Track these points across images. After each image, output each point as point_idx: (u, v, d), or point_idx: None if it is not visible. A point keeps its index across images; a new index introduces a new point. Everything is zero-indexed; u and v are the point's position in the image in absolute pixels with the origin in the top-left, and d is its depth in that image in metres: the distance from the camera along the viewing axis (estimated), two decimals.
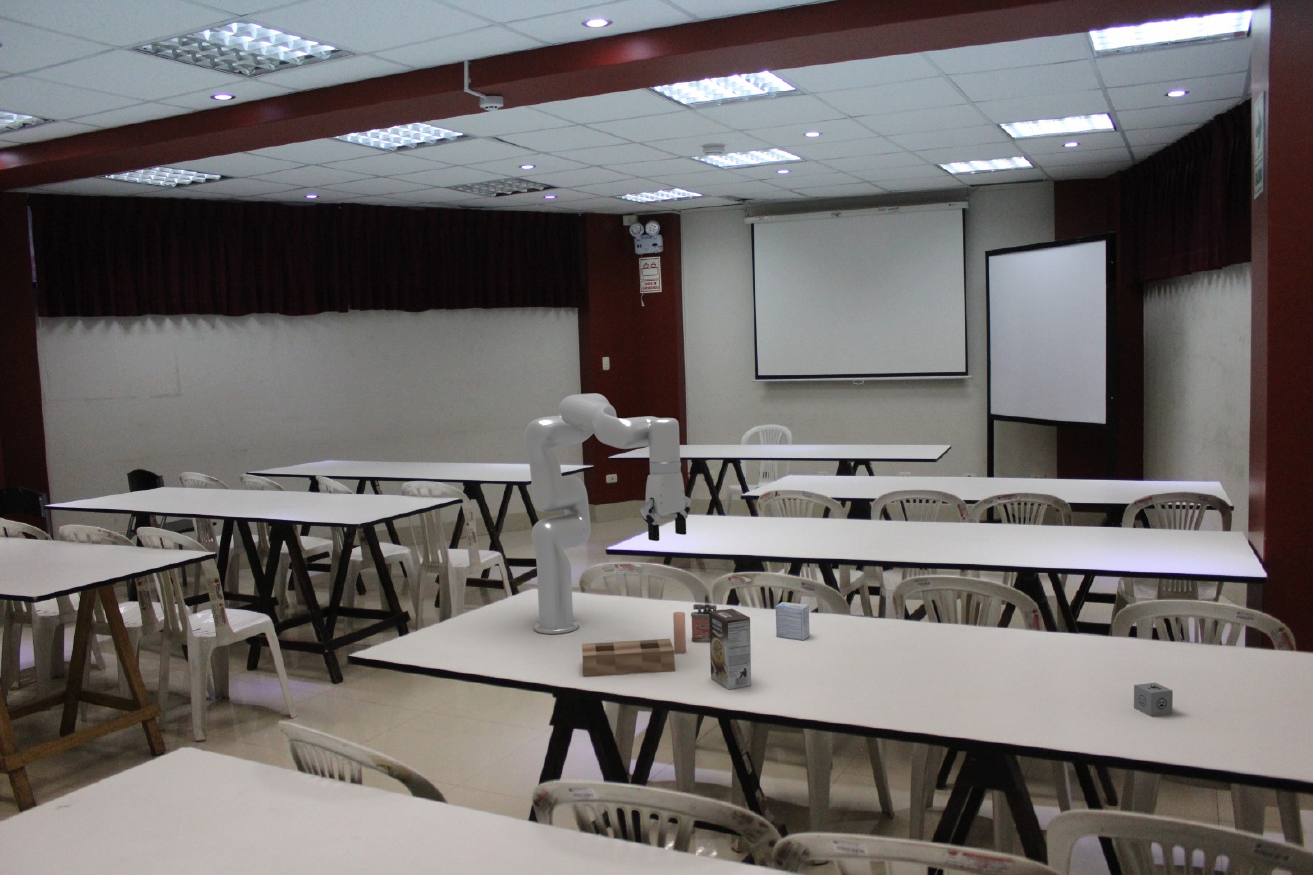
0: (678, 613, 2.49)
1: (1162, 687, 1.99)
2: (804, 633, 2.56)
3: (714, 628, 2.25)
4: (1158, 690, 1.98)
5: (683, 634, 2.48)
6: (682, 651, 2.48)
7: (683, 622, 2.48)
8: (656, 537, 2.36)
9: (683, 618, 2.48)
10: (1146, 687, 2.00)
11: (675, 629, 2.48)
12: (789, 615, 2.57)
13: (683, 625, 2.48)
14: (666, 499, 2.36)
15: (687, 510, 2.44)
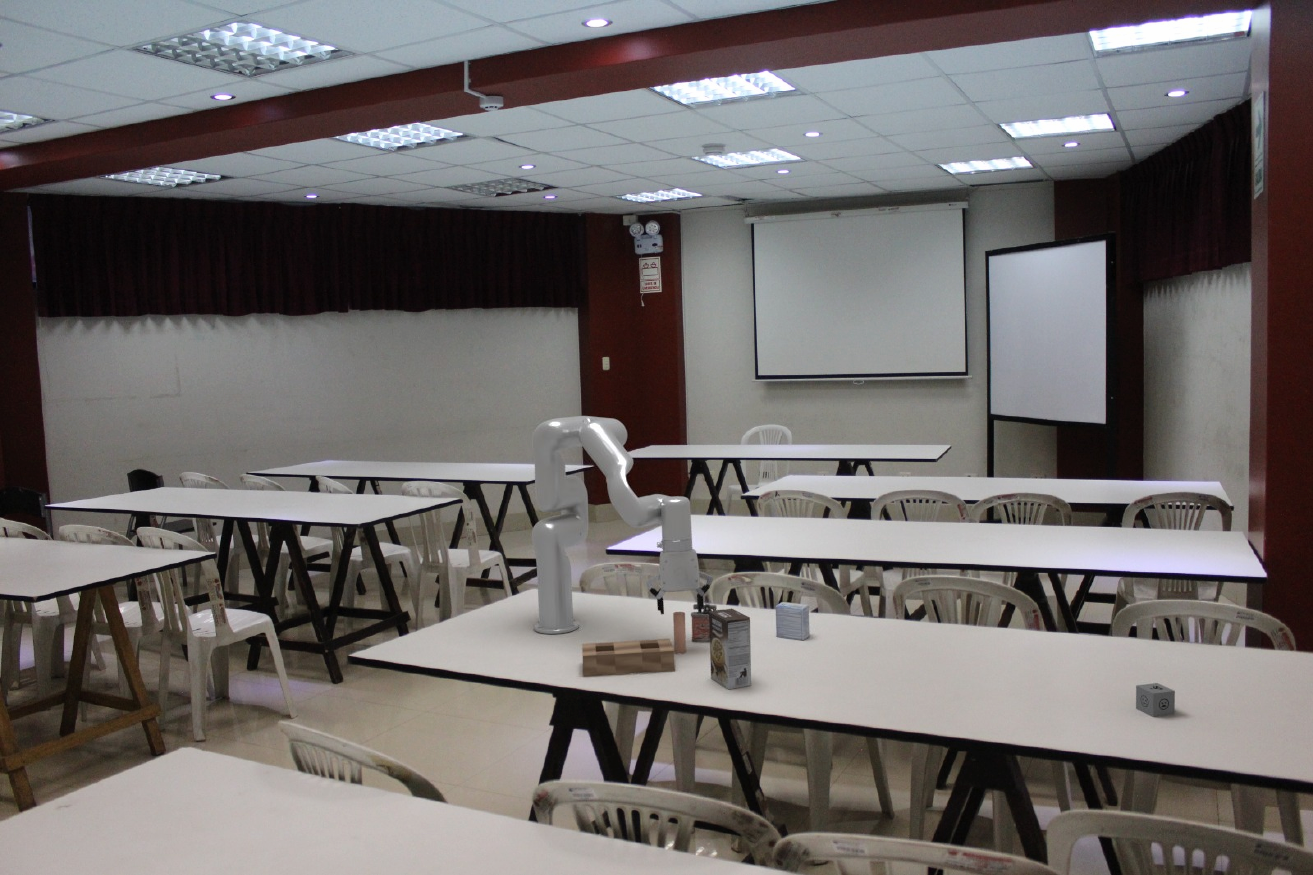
0: (678, 613, 2.49)
1: (1164, 687, 1.99)
2: (804, 633, 2.56)
3: (714, 628, 2.25)
4: (1160, 691, 1.97)
5: (683, 634, 2.48)
6: (682, 651, 2.48)
7: (683, 622, 2.48)
8: None
9: (683, 618, 2.48)
10: (1148, 687, 1.99)
11: (675, 629, 2.48)
12: (789, 615, 2.57)
13: (683, 625, 2.48)
14: None
15: None
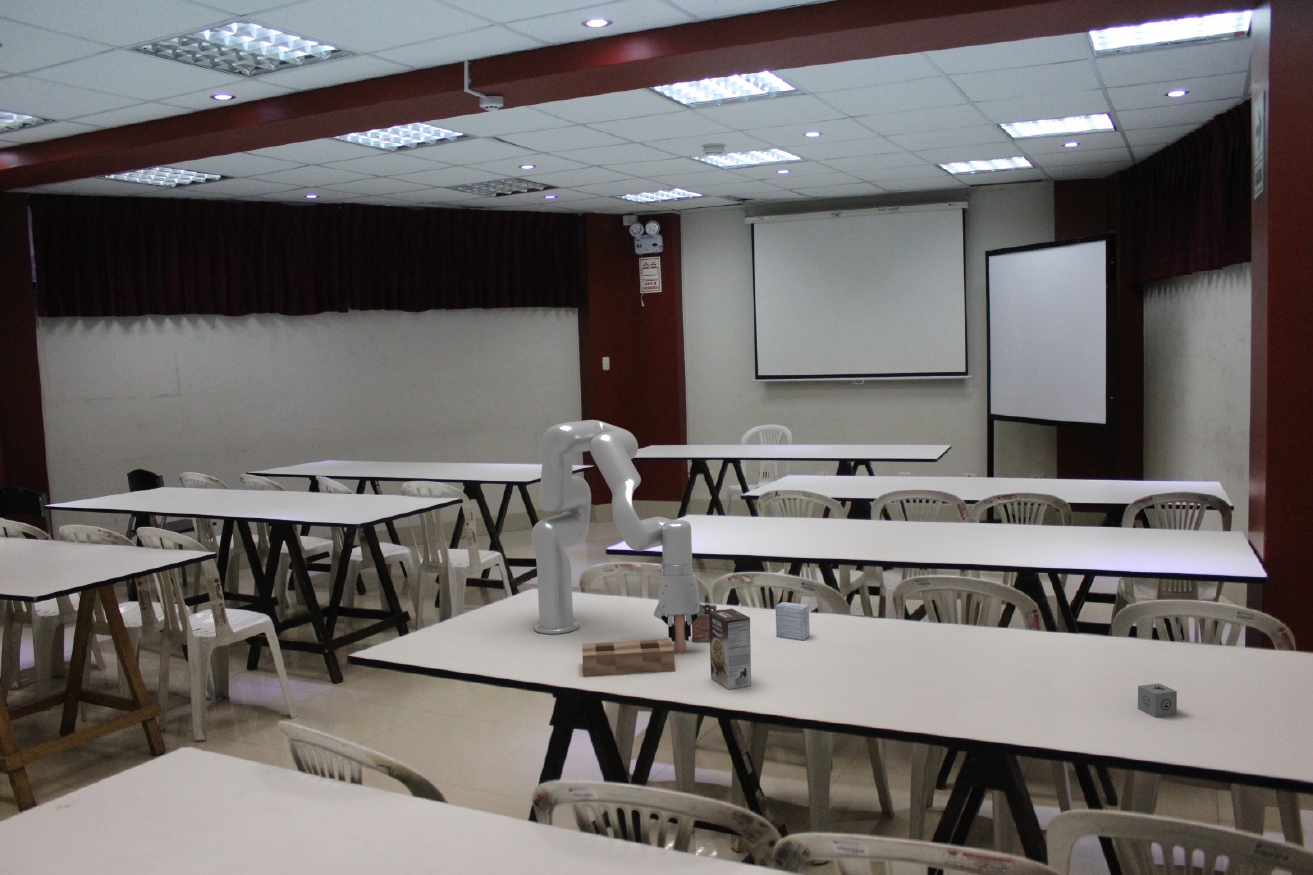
0: None
1: (1166, 688, 1.99)
2: (804, 633, 2.56)
3: (714, 628, 2.25)
4: (1162, 691, 1.97)
5: (683, 634, 2.48)
6: (682, 651, 2.48)
7: (683, 622, 2.48)
8: None
9: (683, 618, 2.48)
10: (1150, 688, 1.99)
11: (675, 629, 2.48)
12: (789, 615, 2.57)
13: (683, 625, 2.48)
14: None
15: None
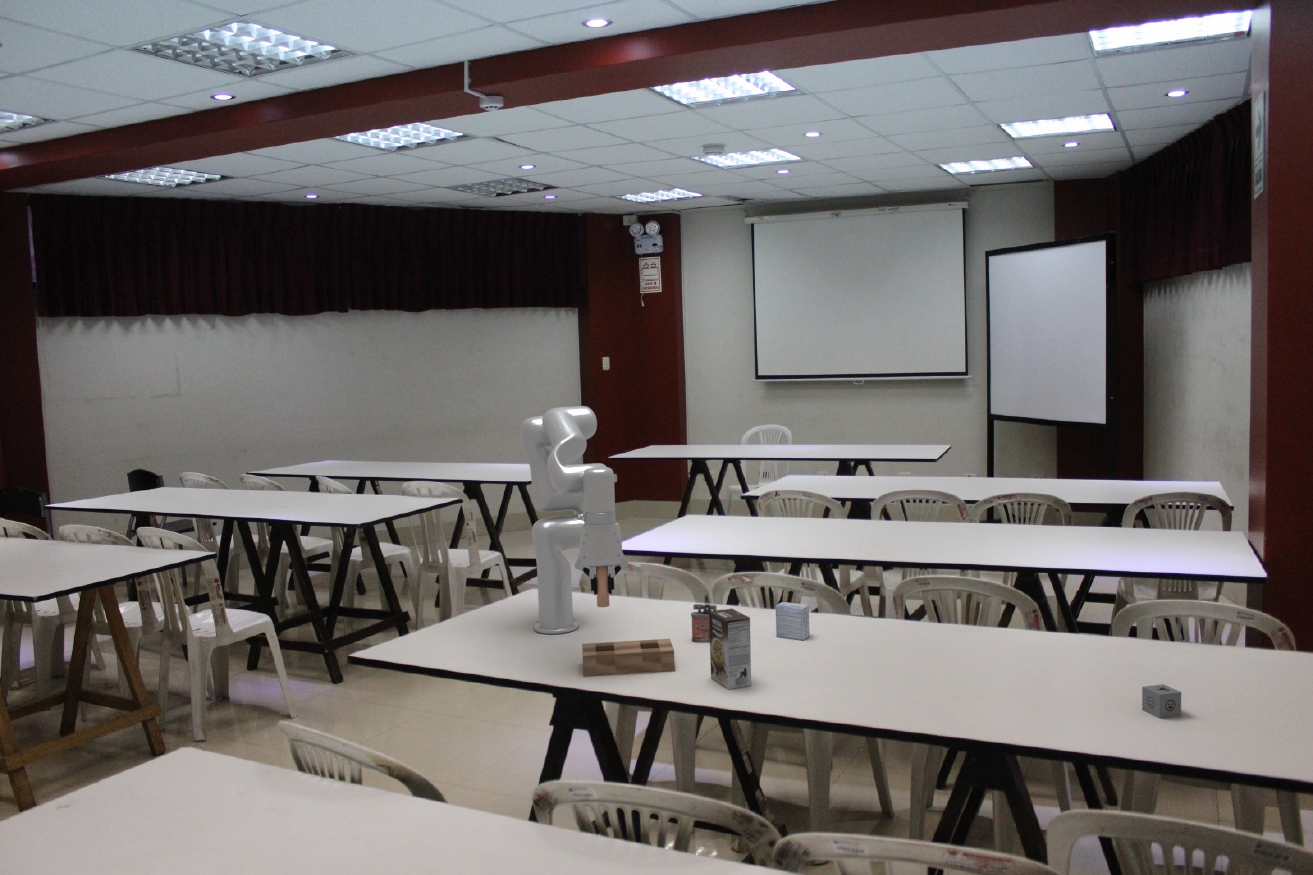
0: None
1: (1170, 689, 1.98)
2: (804, 633, 2.56)
3: (714, 628, 2.25)
4: (1167, 692, 1.97)
5: (606, 587, 2.35)
6: (605, 605, 2.35)
7: (606, 574, 2.35)
8: None
9: (606, 570, 2.35)
10: (1155, 689, 1.99)
11: (597, 582, 2.35)
12: (789, 615, 2.57)
13: (606, 577, 2.35)
14: None
15: None
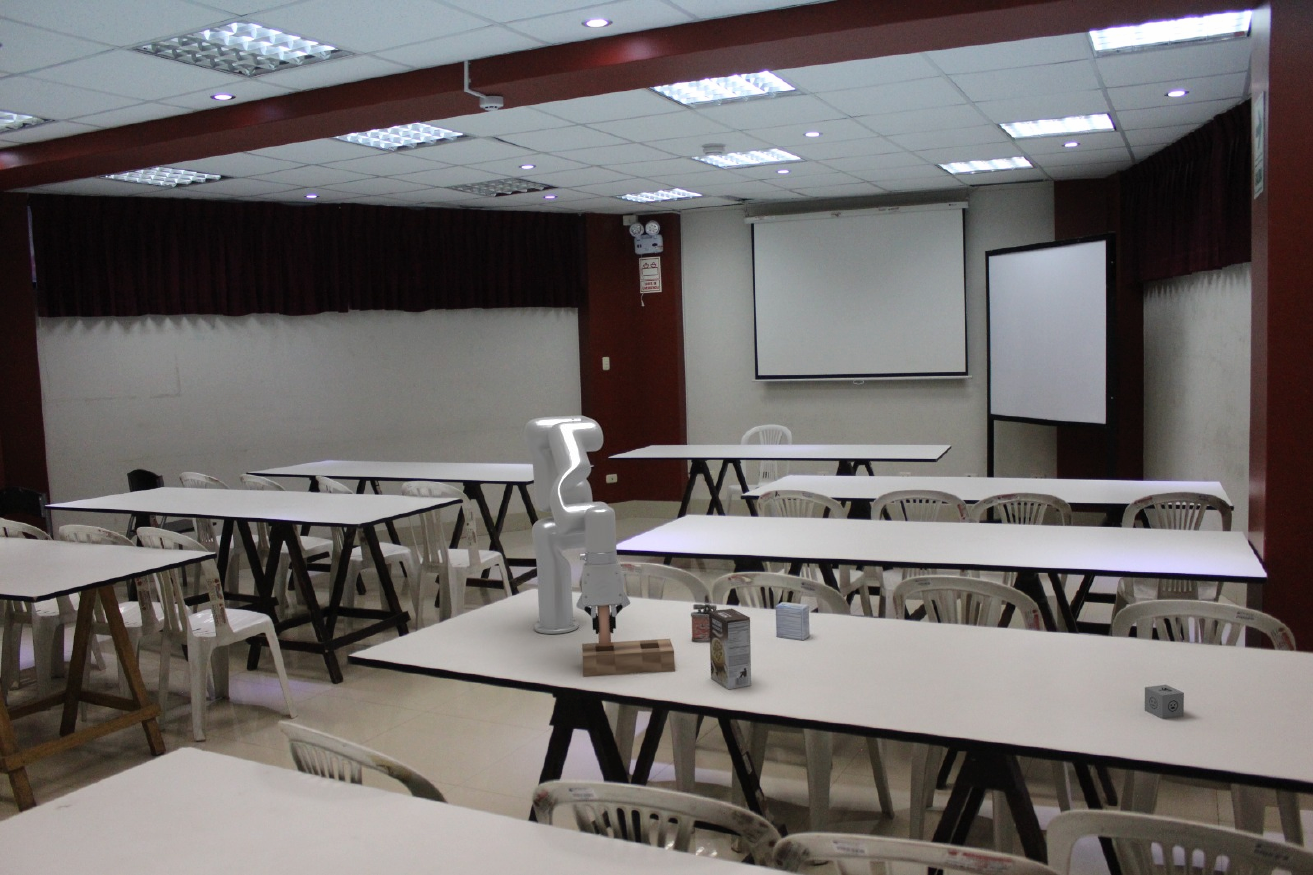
0: None
1: (1173, 689, 1.98)
2: (804, 633, 2.56)
3: (714, 628, 2.25)
4: (1169, 692, 1.96)
5: (607, 626, 2.36)
6: (606, 644, 2.36)
7: (607, 613, 2.36)
8: None
9: (607, 609, 2.36)
10: (1157, 689, 1.98)
11: (599, 621, 2.36)
12: (789, 615, 2.57)
13: (607, 616, 2.36)
14: None
15: None
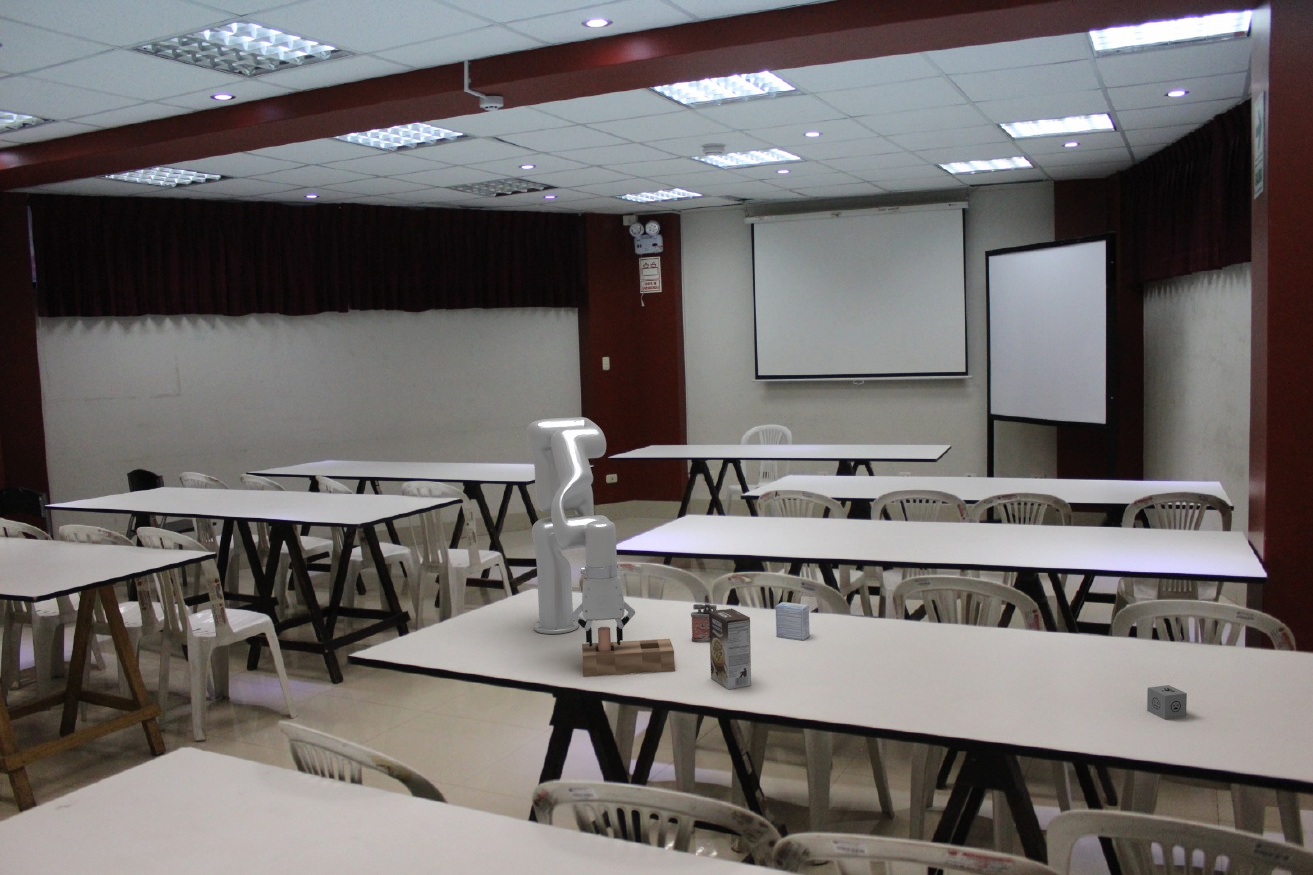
0: (603, 629, 2.37)
1: (1176, 690, 1.98)
2: (804, 633, 2.56)
3: (714, 628, 2.25)
4: (1172, 693, 1.96)
5: (608, 650, 2.37)
6: None
7: (608, 638, 2.37)
8: None
9: (608, 633, 2.37)
10: (1160, 690, 1.98)
11: (600, 645, 2.37)
12: (789, 615, 2.57)
13: (608, 641, 2.37)
14: None
15: None
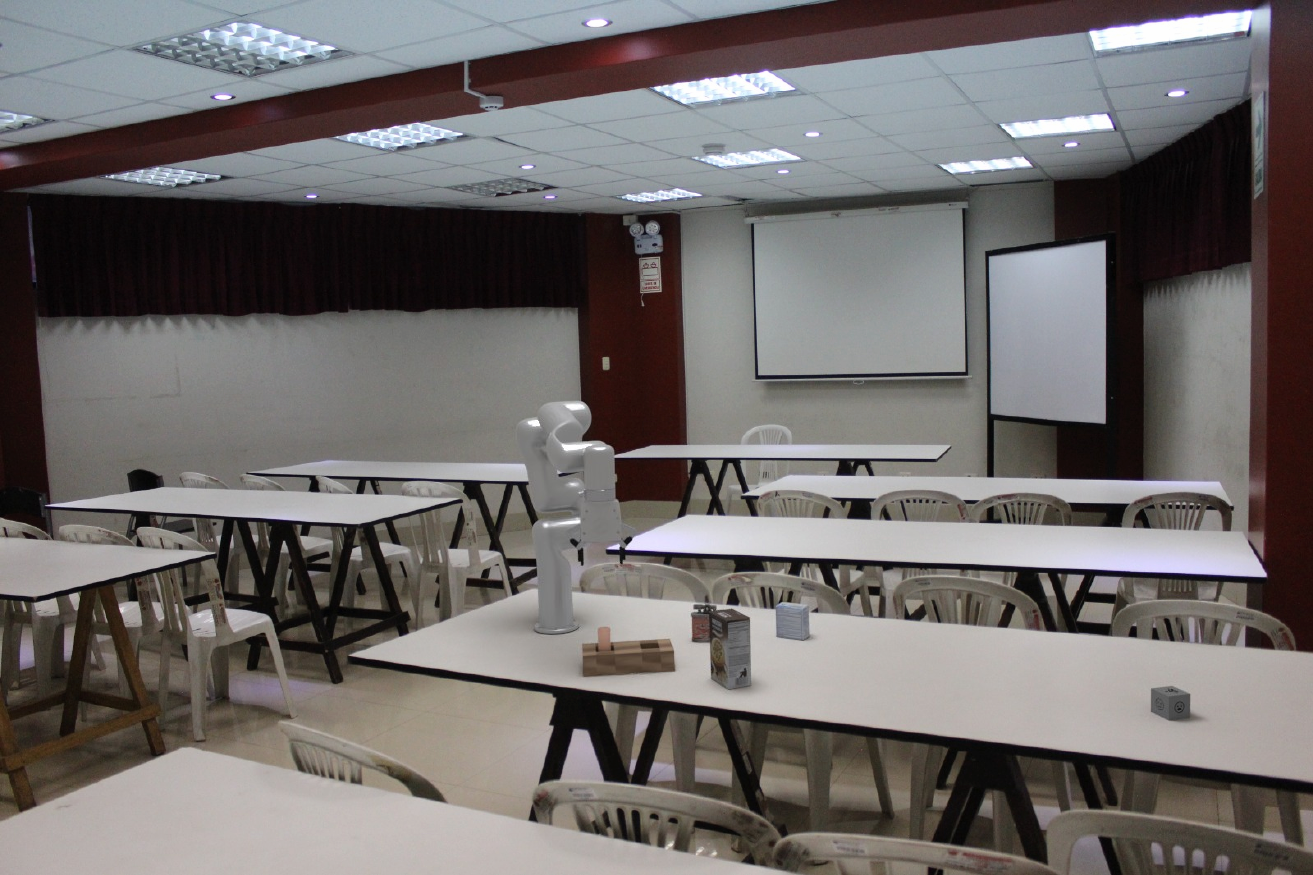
0: (603, 629, 2.37)
1: (1179, 690, 1.97)
2: (804, 633, 2.56)
3: (714, 628, 2.25)
4: (1176, 693, 1.96)
5: (608, 650, 2.37)
6: None
7: (608, 638, 2.37)
8: None
9: (608, 634, 2.37)
10: (1164, 690, 1.98)
11: (599, 645, 2.37)
12: (789, 615, 2.57)
13: (608, 641, 2.37)
14: None
15: None
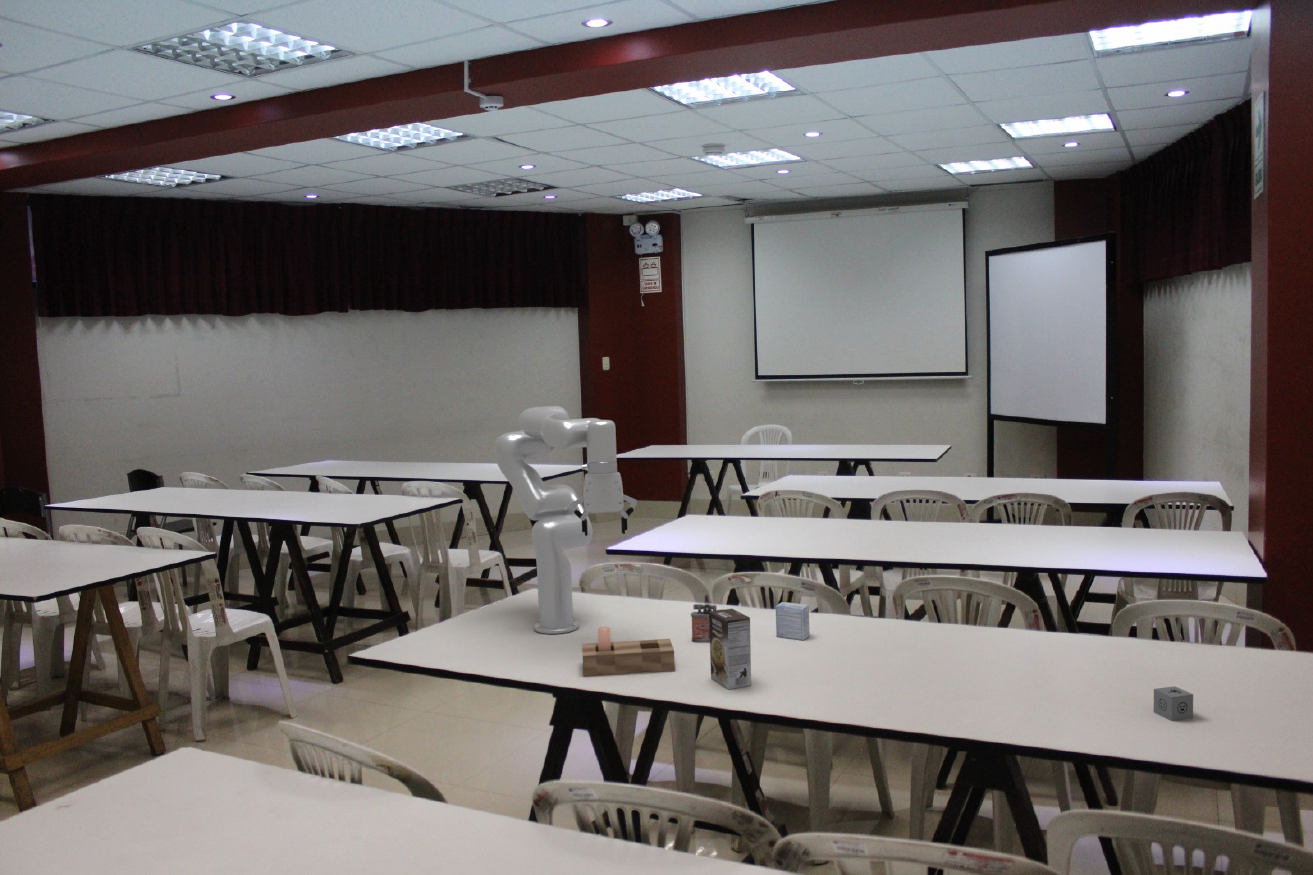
0: (603, 629, 2.37)
1: (1182, 691, 1.97)
2: (804, 633, 2.56)
3: (714, 628, 2.25)
4: (1179, 694, 1.95)
5: (608, 650, 2.37)
6: None
7: (608, 638, 2.37)
8: None
9: (608, 634, 2.37)
10: (1166, 691, 1.97)
11: (599, 645, 2.37)
12: (789, 615, 2.57)
13: (608, 641, 2.37)
14: None
15: None
